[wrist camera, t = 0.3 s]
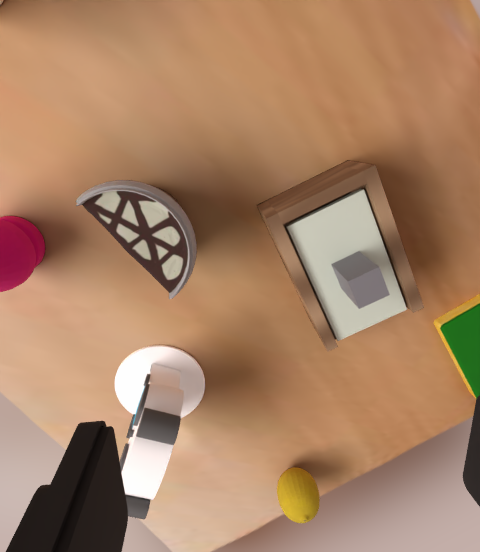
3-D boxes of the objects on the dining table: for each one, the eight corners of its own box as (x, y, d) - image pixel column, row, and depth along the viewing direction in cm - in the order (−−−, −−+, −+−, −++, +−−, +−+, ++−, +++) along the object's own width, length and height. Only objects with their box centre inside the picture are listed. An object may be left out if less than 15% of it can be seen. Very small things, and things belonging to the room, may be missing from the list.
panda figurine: (130, 329, 48) (97, 411, 33) (218, 354, 50) (222, 441, 36) (105, 408, 51) (66, 512, 37) (189, 428, 53) (182, 534, 39)
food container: (221, 235, 44) (224, 261, 35) (180, 268, 45) (173, 303, 36) (143, 147, 41) (124, 150, 31) (101, 186, 42) (70, 200, 32)
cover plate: (285, 225, 38) (298, 239, 33) (360, 188, 38) (386, 197, 32) (335, 337, 43) (354, 366, 38) (403, 306, 43) (432, 331, 37)
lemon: (265, 475, 57) (274, 527, 49) (288, 449, 56) (300, 498, 48) (295, 489, 58) (308, 542, 51) (318, 464, 57) (335, 514, 49)
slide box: (256, 205, 44) (266, 218, 37) (347, 160, 43) (375, 165, 36) (310, 320, 49) (327, 351, 42) (392, 282, 48) (424, 307, 41)
